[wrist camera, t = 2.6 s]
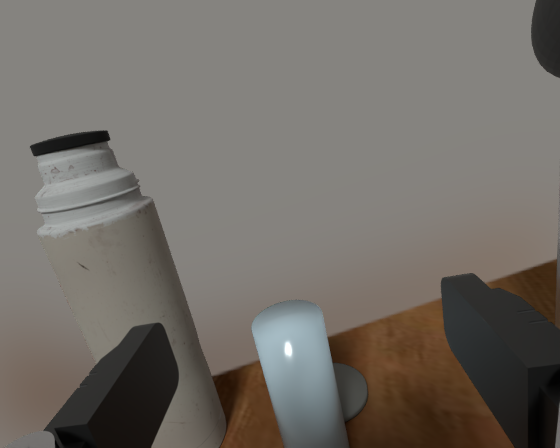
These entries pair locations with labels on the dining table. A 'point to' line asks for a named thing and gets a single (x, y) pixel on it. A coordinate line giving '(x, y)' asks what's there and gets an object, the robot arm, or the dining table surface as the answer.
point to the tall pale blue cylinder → (300, 375)
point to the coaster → (350, 390)
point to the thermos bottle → (122, 273)
